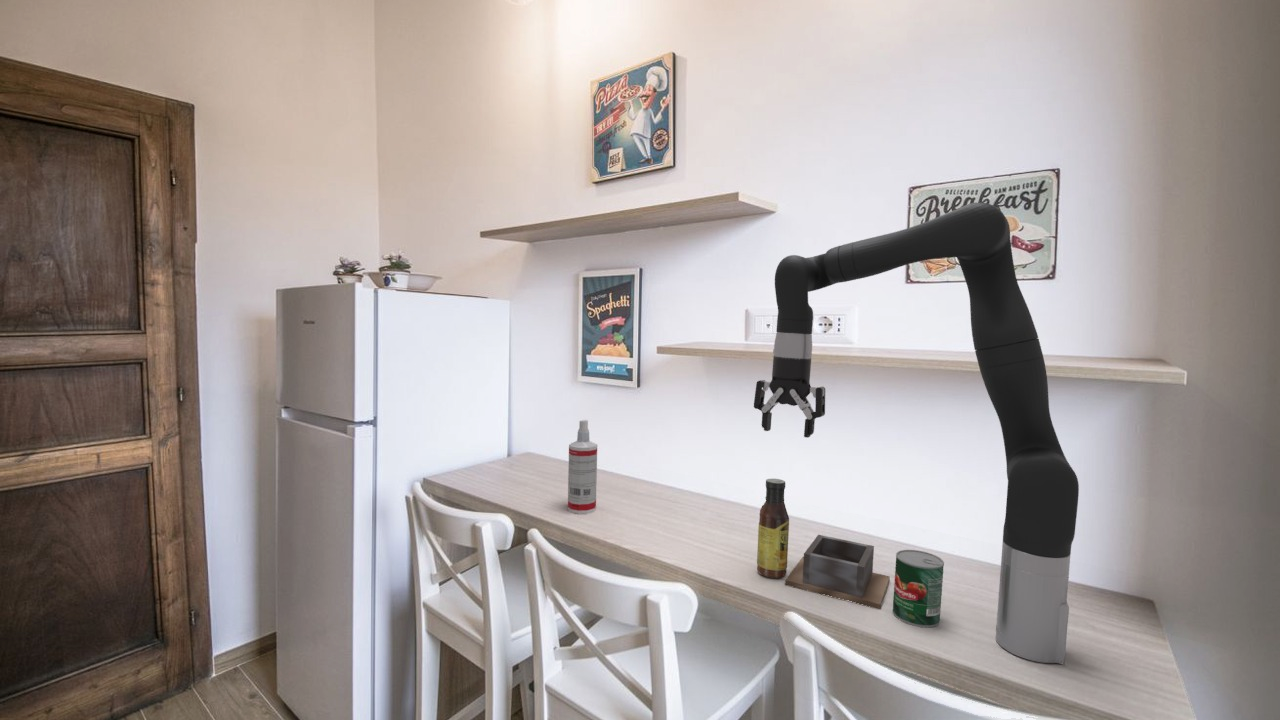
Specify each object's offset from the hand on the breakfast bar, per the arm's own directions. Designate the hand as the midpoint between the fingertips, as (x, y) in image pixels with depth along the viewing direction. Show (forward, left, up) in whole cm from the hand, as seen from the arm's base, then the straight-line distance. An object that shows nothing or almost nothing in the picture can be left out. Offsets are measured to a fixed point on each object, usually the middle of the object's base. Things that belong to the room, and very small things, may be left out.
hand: (786, 433), depth 118 cm
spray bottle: (+59, -11, -31) cm, 67 cm away
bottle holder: (-11, -4, -30) cm, 32 cm away
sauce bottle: (+2, -1, -31) cm, 31 cm away
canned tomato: (-26, +2, -31) cm, 40 cm away
